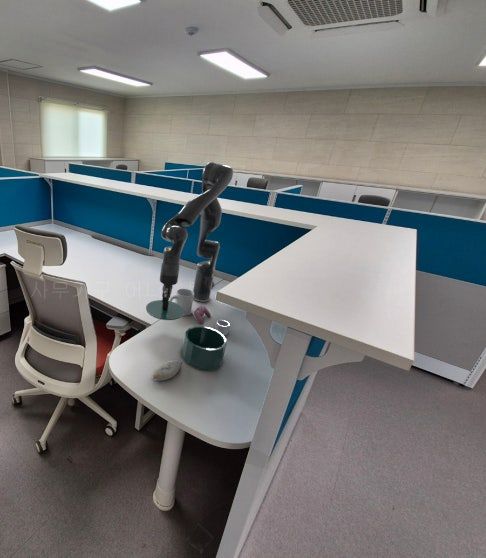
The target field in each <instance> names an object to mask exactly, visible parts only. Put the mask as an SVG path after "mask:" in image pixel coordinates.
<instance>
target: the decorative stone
mask: <svg viewBox="0 0 486 558" xmlns="http://www.w3.org/2000/svg"><path fill="white" fill-rule="evenodd" d="M182 365H183V361H182V360H181V359H173V360H169V361H165V362H164V363H162V364H159V366H157V367H156V368H155V369H154V371H153V373H152V379H153V380H154V381H159V382H161V381H166V380H169V379H172V378H173V377H174V376H175V375H176V374H178V372H179V371H180V369H181V367H182Z"/></svg>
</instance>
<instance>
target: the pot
mask: <svg viewBox="0 0 486 558" xmlns="http://www.w3.org/2000/svg"><path fill="white" fill-rule="evenodd" d="M227 343H228V342H227V338H226V337H225V336H224V335H223V334H221V333H220V332H218V331H217V330H215V328H212V327H209V326H203V325H198V326H197V325H194V326H192V327H189V328H187V330H186V331H185V333H184V338H183V346H182V351H181V355H182V358H183V360H184V361H185V362H186V364H188V365H190V367H193V368H195V369H198V370H201V371H213V370H217V369H218V368H220V367H221V365H222V364H223V361H224V357H225V353H226V348H227Z"/></svg>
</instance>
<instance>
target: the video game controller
mask: <svg viewBox="0 0 486 558" xmlns="http://www.w3.org/2000/svg"><path fill="white" fill-rule="evenodd" d="M204 316H206V317H207V318H211V317H212V313H211V312H210V311H209V310H208V309H207V307H206V306H205V305H199V306H198V307H197V308H196V309H195V310H194V311H193V317H194V318H195V320H196V321H197V322H198V323H199V324H201V325H203V324H204V323H205V321H204V319H203V318H204Z"/></svg>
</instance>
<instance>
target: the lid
mask: <svg viewBox="0 0 486 558" xmlns="http://www.w3.org/2000/svg"><path fill="white" fill-rule="evenodd" d="M162 306H163V303H162V299H157V300H152V301H150V302H148V303H146V306H145V312H146V313H147V314H148V315H149V316H150V317H152V318H155V319H158V320H162V321H176V320H179V319H181V318H182V317H184V316H183V315H184V309H183V308H182V307H181V306H180V305H178V304H176V303H175V301H172V302H171V301H170V300H169V302H168V308H167V310H163V309H162Z"/></svg>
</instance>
